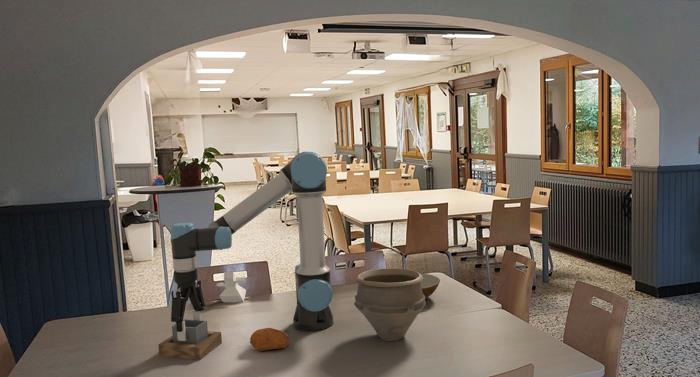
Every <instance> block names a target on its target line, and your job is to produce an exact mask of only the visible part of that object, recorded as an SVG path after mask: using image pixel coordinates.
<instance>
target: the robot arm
mask: <svg viewBox="0 0 700 377" xmlns="http://www.w3.org/2000/svg"><path fill="white" fill-rule="evenodd" d="M327 173H328V167H327V163H326V161H325V160H324V158H323V157H322V156H321V155H319V154H318V153H316V152H314V151H302V152H299V153H297V154H295V156H294V157H293V158H292V159H291V160H290V161H289V162H288V163H287V164H285V165H284V166H283V167H281V169H280V170H279V173H278V174H277V175H276V176H275V177H273V178H272V179H270V180H269V181H267V182H266V183H265V184H263V185H262V186H261V187H259V188H258V189H257V190H255V191H254V192H252V193H251V194H250V195H248V196H247V197H246V198H244V199H243V200H242V201H241V202H239V203H237V205H235V206H233V207H232V208H231V209H230V210H228V211H227V212H226V213H224V214H223V215H222V216H220V217H219V218H218V219H216V220H213V221H212V222H211V223H210V224H208V225H209V226H208V227H204V228H203V227H202V228H195V225H194V223H193V222H179V223H175V224H173V225H171V227H170V244H171V254H172V255H171V256H172V257H171V258H172V267H173V270H174V271H173V281H174V283H176V285H177V287H176V290H172V291H171V294H170V295H171V313H170V322H172V323H175V324H176V330H177V336H178V341H186V330H185V321H183V320H184V317H185V311H186V307H187V302H188V301H190V303H191V305H192V308H193V311H192V318H193V319H192V320H202V312H203V311H204V310H205V307H206V303H205V300H204V294H203V290H202V281H201V280H198V278H199V277H198V269H197V267H198V263H197V252H204V251H205V252H206V251H222V250H225V249H226V250H227V249H230V248H232V244H233V237H232V236H233V235H234V234H236V233H237V231H239V230H240V229H241V228H243V227H244V226H246V225H247V224H248V223H250V222H251V221H252V220H254V219H255V218H256V217H259V215H260V214H262V213H264V211H266V210H268V209H269V208H270V207H271V206H273V205H274V204H276V203H277V202H278V201H280V200H281V199H282V198H283V197H285V196H286V195H288V194H289V193H291V192H292V194H293V195H294V196H295V197H296V202H297V203H296V204H297V205H296V206H297V223H298V226H297V227H298V242H299V244H298V245H299V262H300V263H299V264H297V265H296V266H295V268H294V275H295V276H294V277H295V278H294V280H295V294H296V307H295V311H294V314H293V319H292V325H293V327H294V328H295V329H297V330H301V331H306V332H309V331H311V332H312V331H319V330H320V331H321V330H324V329H327V328H330V327H331V326H333V324H334V315H333V313H332V310H331V307H330V304H331V302H332V299H333V294H334V291H333V288H332V285H331V284H332V283H331V268H330V267H329V266H328V265H327V264H326V253H325V252H326V249H325V231H324V229H325V228H324V212H323V211H324V210H323V208H324V207H323V196H324V194H325V193H326V192H327V179H326V178H327Z"/></svg>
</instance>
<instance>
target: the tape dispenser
mask: <svg viewBox="0 0 700 377" xmlns="http://www.w3.org/2000/svg"><path fill="white" fill-rule="evenodd" d="M246 279H247V278H246V277H245V276H244V277H243V276H242V277H239V276H238V277H237V276H236V274H235V271H224V272H223V281H224V283H223V282H218V283H216V284H215V286H216V287H220V288H221V287H224V288H225V289H224V290H223V291H222V292H221V293H220V295H219V298H220V299H221V301H222V303H244V302H245V297H246V293H247V289H245V288H244V287H242V286H240V285H239V284H243V283H244V284H245V283H246Z"/></svg>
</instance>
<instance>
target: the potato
mask: <svg viewBox="0 0 700 377" xmlns="http://www.w3.org/2000/svg"><path fill="white" fill-rule="evenodd" d="M249 342H250V344H251V346H252V347H253V349H255V350H258V352H259V351H260V352H263V351H268V350H276V349H284V348H285V347H287V346H288V345H289V343H290V336H289V334H288V333H286V332H284V331H282V330H279V329H275V328H272V327H265V328H260V329H257V330H255V331H253V333H252V334H251V335H250V337H249Z"/></svg>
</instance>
